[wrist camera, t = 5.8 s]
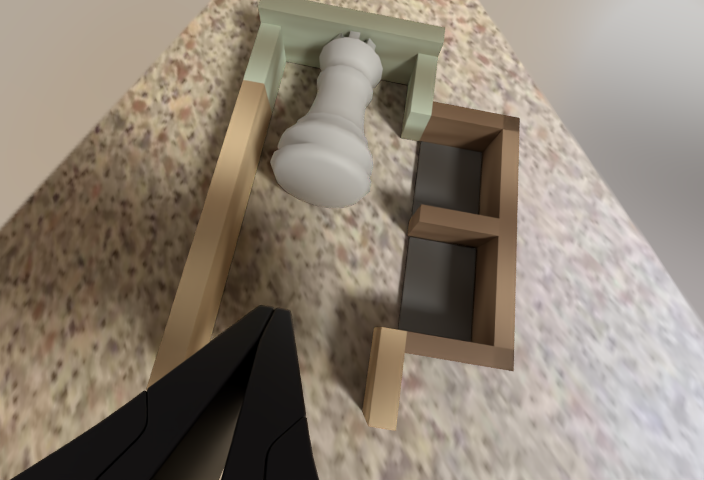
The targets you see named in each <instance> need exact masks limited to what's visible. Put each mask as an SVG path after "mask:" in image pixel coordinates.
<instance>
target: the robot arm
mask: <svg viewBox="0 0 704 480" xmlns="http://www.w3.org/2000/svg"><path fill="white" fill-rule="evenodd" d="M224 466H225V467H224ZM223 469H224V471H223ZM222 471H223V474H222V478H221V480H319V478H318V474H317V470H316V466H315V462H314V458H313V453H312V447H311V442H310V436H309V430H308V423H307V418H306V411H305V404H304V397H303V390H302V383H301V377H300V370H299V363H298V356H297V349H296V343H295V336H294V329H293V322H292V315H291V311H290V310H288V309H282V308H276V309H275V308H274V307H270V306H264V305H260V306H258V307H256V308H255V309H254V310H252V311H251V312H249V313H248V314H247V315H245V316H244V317H243V318H241V319H240V320H239V321H237V322H236V323H235V324H233V325H232V326H231V327H229V328H228V329H227V330H225V331H224V332H223V333H221V334H220V335H218V336H217V337H216V338H214V339H213V340H212V341H210V342H209V343H208V344H206V345H205V346H204V347H202V348H201V349H200V350H198V351H197V352H196V353H194V354H193V355H192V356H190V357H189V358H187V359H186V360H185V361H183V362H182V363H181V364H179V365H178V366H177V367H175V368H174V369H173V370H171V371H170V372H169V373H167V374H166V375H165V376H163V377H162V378H161V379H159V380H158V381H156V382H155V383H154V384H152V385H151V386H150V387H148V388H147V391H143V392H141V393H140V394H139V395H137V396H136V397H135V398H133V399H132V400H131V401H129V402H128V403H127V404H125V405H124V406H122V407H121V408H119V409H118V410H117V411H115V412H114V413H112V414H111V415H110V416H108V417H107V418H105V419H104V420H103V421H101V422H100V423H98V424H97V425H95V426H94V427H92V428H91V429H89V430H87V431H86V432H84V433H83V434H81V435H80V436H78V437H77V438H75V439H74V440H72V441H71V442H69V443H68V444H66V445H64V446H63V447H61V448H60V449H58V450H57V451H55V452H53V453H52V454H50V455H49V456H47V457H45V458H44V459H42V460H41V461H39V462H37V463H36V464H34V465H33V466H31V467H30V468H28V469H26V470H25V471H23V472H22V473H20V474H18V475H17V476H15V477H14V478H12V479H11V480H219V478H220V476H221V473H222Z"/></svg>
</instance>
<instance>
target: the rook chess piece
mask: <svg viewBox="0 0 704 480" xmlns="http://www.w3.org/2000/svg"><path fill="white" fill-rule="evenodd" d="M359 37H360V32H354V31H350V35H349V37H344V36H343V35H342V33H341V34H339V35H338V36H337V37H335V38H334V40H332V41H331V42H329V43H328V44H327V45H325V46H324V47H323V50H322V52H321V54H320V56H319V59H320V69H321V71H322V72H321V73H320V75H319V77H318V79H317V90H318V93H317V96H316V98H315V100H314V102H313V104H312V106H311V108H310V110H309V112H308V113H307V114H306V115H305V116H304V117H302V118H300V119H299V120H298V121H297V123H296V124H295V125H293V126H291V127H289V128H288V129H286V131H285V132H284V133H283V134H282V136H281V138H280V141H279V143H278V149H279V150H277V151H275V152H274V154H273V156H272V159H271V161H270V163H271V166H272V169H273V172H274V175H275V177H276V180H277V182H278V184H279V185H280V186H281V187H282V188H283V189H284V190H285V191H286V192H287V193H289V194H291V195H292V196H294V197H296V198H297V199H299V200H302V201H304V202H307V203H310V204H312V205H316V206H321V207H326V208H344V207H348V206H352V205H354V204H355V203H356V202H358V201H359V200H360V199H361V198H363V197H364V196H365V195H366V194H367V193H369V192H370V186H371V180H370V178H369V177H370V176H371V174H372V169H373V157H372V154H371V152H370V150H369V148H368V142H367V139H366V137H365V135H364V114H365V109H366V107H367V106H368V104H369V103H370V102H371V100H372V95H373V90H372V89H373V88H375V87H376V86H377V84H378V83H379V81H380V80H381V77H382V70H383V68H382V64H381V61H380V58H379V56H378V55H377V54H376V52H375V47H376V45H375V44H374V43H373V42H372V40H371V39H370V38H369V39H368V40H367V41H366V43H364V42H363V41H361V40H359Z"/></svg>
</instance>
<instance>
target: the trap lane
mask: <svg viewBox="0 0 704 480" xmlns="http://www.w3.org/2000/svg"><path fill="white" fill-rule="evenodd" d="M258 11H259V15H260V20H261V24H260V28H259V31H258V34H257V37H256V40H255V43H254V47H253V50H252V53H251V56H250V59H249V63H248V66H247V69H246V72H245V75H244V79H243V82H242V85H241V88H240V91H239V95H238V98H237V101H236V104H235V107H234V111H233V114H232V117H231V120H230V123H229V126H228V130H227V133H226V136H225V139H224V142H223V146H222V149H221V152H220V155H219V158H218V162H217V165H216V168H215V171H214V174H213V178H212V181H211V184H210V187H209V190H208V194H207V197H206V200H205V203H204V206H203V210H202V213H201V216H200V219H199V222H198V225H197V229H196V232H195V235H194V238H193V241H192V245H191V248H190V251H189V254H188V257H187V261H186V264H185V267H184V270H183V273H182V277H181V280H180V283H179V286H178V289H177V293H176V296H175V299H174V302H173V305H172V308H171V312H170V315H169V318H168V321H167V324H166V328H165V331H164V334H163V337H162V340H161V344H160V347H159V350H158V353H157V356H156V360H155V363H154V366H153V369H152V372H151V376H150V379H149V382H148V385H147V388H148V387H150V386H151V385H152V384H154V383H155V382H156V381H158V380H159V379H161V378H162V377H163V376H165V375H166V374H167V373H169V372H170V371H171V370H173V369H174V368H175V367H177V366H178V365H179V364H181V363H182V362H183V361H185V360H186V359H187V358H189V357H190V356H192V355H193V354H194V353H196V352H197V351H198V350H200V349H201V348H202V347H204V346H205V345H206V344H208V343H209V342H210V339H211V335H212V331H213V328H214V324H215V320H216V317H217V313H218V310H219V306H220V302H221V299H222V295H223V291H224V288H225V284H226V280H227V277H228V273H229V269H230V266H231V262H232V258H233V255H234V251H235V247H236V244H237V240H238V236H239V233H240V229H241V225H242V222H243V218H244V214H245V211H246V207H247V203H248V200H249V196H250V192H251V189H252V185H253V181H254V178H255V174H256V171H257V167H258V163H259V160H260V156H261V152H262V149H263V145H264V141H265V138H266V134H267V130H268V127H269V123H270V119H271V116H272V112H273V108H274V105H275V101H276V97H277V94H278V90H279V86H280V83H281V79H282V75H283V72H284V68H285V64H286V62H291V63H297V64H302V65H307V66H312V67H317V68H320V59H319V56H320V54H321V52H322V50H323V47H324V46H325V45H327V44H328V43H329V42H331V41H332V40H334V38H335V37H337V36H338V35H339V34H341V33H342V35H343V36H344V37H349V35H350V31H354V32H360V37H359V40H361V41H363V42H364V43H366V41H367V40H368V39H369V38H370V39H371V40H372V42H373V43H374V44H375V45H376V47H375V52H376V54H377V55H378V56H379V58H380V61H381V64H382V68H383V70H382V77H381V80H385V81H390V82H396V83H401V84H406V85H408V89H407V96H406V103H405V111H404V118H403V125H402V132H401V138H404V139H409V140H414V141H420V142H421V143H420V151H419V159H418V168H417V176H416V184H415V193H414V201H413V209H412V217H411V219H410V220H409V226H408V234H407V236H411V237H409V242H408V251H407V259H406V267H405V276H404V284H403V292H402V301H401V309H400V317H399V325H398V329H399V330H396V329H391V328H385V327H374V331H373V338H372V345H371V353H370V360H369V367H368V374H367V381H366V388H365V395H364V402H363V410H362V412H363V415H364V417H365V419H366V422H367V424H368V426H369V427H376V428H382V429H388V430H394V431H396V424H397V415H398V407H399V398H400V389H401V380H402V371H403V362H404V353H409V354H415V355H421V356H427V357H433V358H439V359H444V360H450V361H456V362H462V363H468V364H474V365H480V366H486V367H491V368H497V369H503V370H509V371H514V330H515V288H516V247H517V205H518V164H519V122H520V118H517V117H512V116H506V115H501V114H496V113H491V112H485V111H480V110H475V109H470V108H464V107H459V106H454V105H449V104H444V103H438V102H433V96H434V87H435V79H436V70H437V61H438V56H439V53H440V51H441V48H442V46H443V42H444V33H445V28H444V27H439V26H434V25H429V24H424V23H419V22H414V21H409V20H404V19H399V18H394V17H389V16H384V15H379V14H374V13H368V12H363V11H358V10H353V9H348V8H343V7H338V6H333V5H328V4H323V3H318V2H313V1H308V0H260V2H259V5H258ZM481 157H482V161H481ZM480 173H481V178H480ZM479 190H480V194H479ZM478 207H479V211H478ZM413 237H417V238H413ZM419 238H422V239H419ZM424 239H428V240H424ZM430 240H434V241H430ZM435 241H439V242H435ZM441 242H445V243H441ZM447 243H450V244H447ZM452 244H456V245H452ZM458 245H461V246H458ZM463 246H467V247H463ZM469 247H472V248H469ZM474 248H476V249H474ZM475 257H476V261H475ZM474 273H475V278H474ZM473 290H474V295H473ZM472 307H473V312H472ZM471 323H472V328H471ZM402 330H405V331H402ZM408 331H411V332H408ZM414 332H417V333H414ZM420 333H422V334H420ZM425 334H428V335H425ZM431 335H434V336H431ZM437 336H440V337H437ZM443 337H446V338H443ZM449 338H451V339H449ZM455 339H457V340H455ZM460 340H463V341H460ZM470 340H471V342H470ZM466 341H469V342H466ZM147 388H146V390H147Z"/></svg>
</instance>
